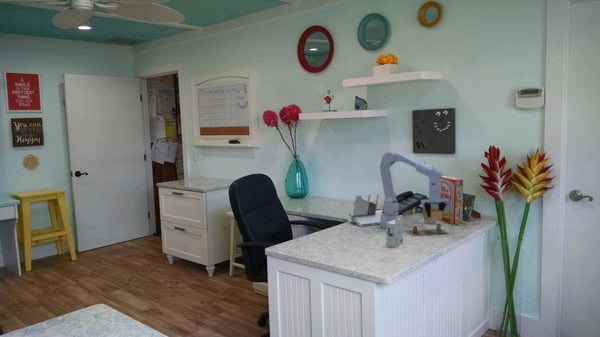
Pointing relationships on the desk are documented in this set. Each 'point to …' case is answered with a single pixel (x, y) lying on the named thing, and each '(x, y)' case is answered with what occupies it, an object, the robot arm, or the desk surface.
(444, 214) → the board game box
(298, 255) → the desk surface
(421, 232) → the hub board
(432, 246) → the desk surface
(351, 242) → the desk surface
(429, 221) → the coffee cup
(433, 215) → the collar
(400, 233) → the ink box
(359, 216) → the architectural model
